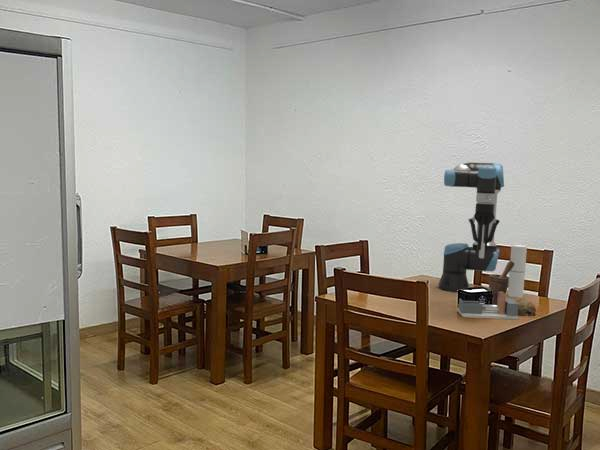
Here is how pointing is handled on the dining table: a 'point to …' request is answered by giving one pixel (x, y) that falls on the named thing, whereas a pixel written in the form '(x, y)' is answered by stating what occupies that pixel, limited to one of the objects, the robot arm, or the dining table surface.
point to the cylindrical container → (517, 271)
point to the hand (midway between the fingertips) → (481, 257)
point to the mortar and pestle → (499, 282)
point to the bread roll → (525, 307)
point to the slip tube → (500, 304)
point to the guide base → (475, 311)
